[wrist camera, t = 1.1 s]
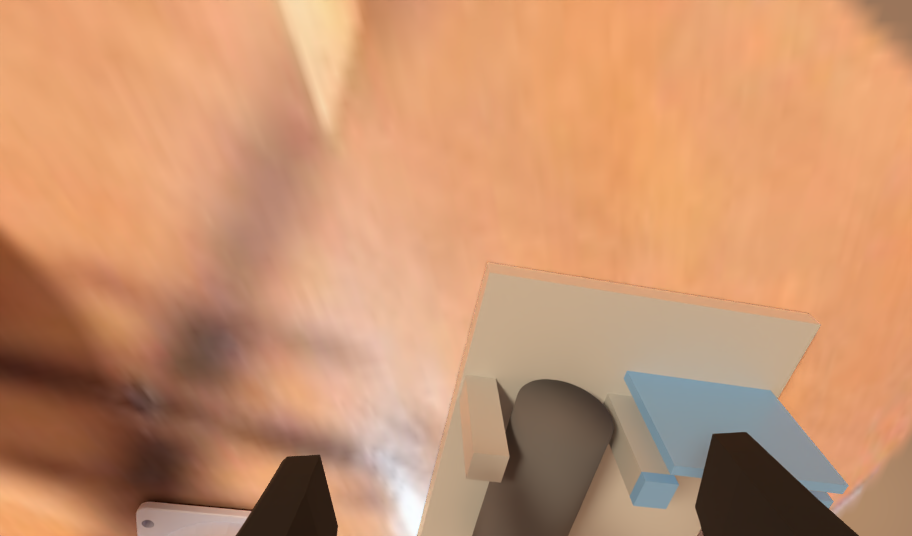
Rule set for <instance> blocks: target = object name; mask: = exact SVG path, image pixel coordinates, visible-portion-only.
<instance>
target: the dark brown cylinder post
mask: <svg viewBox="0 0 912 536" xmlns="http://www.w3.org/2000/svg"><path fill="white" fill-rule="evenodd" d="M613 430H614V425H613V420H612V417H611V415H610V413H609V412H608V410H607V409H606V407H605V406H604V405H603V404H602V403H601V402H600V401H599V400H598V399H597V398H596V397H594V396H593V395H592V394H590V393H589V392H587V391H585V390H584V389H582V388H580V387H578V386H576V385H573V384H570V383H567V382H564V381H559V380H551V379H540V380H535V381H531V382H529V383H527V384H525V385H524V386H523V387H522V388H521V389H520V390H519V392H518V394H517V397H516V401H515V404H514V407H513V410H512V413H511V416H510V419H509V422H508V425H507V429H506V432H505V434H506V440H507V445H508V451H509V460H508V463H507V466H506V469H505V472H504V475H503V478H502V481H501V483H499V482H490V481H489V484H488V488H487V491H486V494H485V497H484V500H483V503H482V506H481V509H480V512H479V516H478V519H477V522H476V525H475V528H474V531H473V534H472V536H568V535H569V533H570V530H571V528H572V526H573V524H574V521H575V519H576V517H577V514H578V512H579V510H580V508H581V505H582V503H583V501H584V498H585V496H586V494H587V491H588V489H589V487H590V485H591V482H592V480H593V478H594V475H595V473H596V471H597V469H598V466H599V464H600V462H601V459H602V457H603V455H604V452H605V450H606V448H607V446H608V443H609V441H610V439H611V436H612V434H613Z"/></svg>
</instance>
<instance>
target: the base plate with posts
mask: <svg viewBox="0 0 912 536" xmlns="http://www.w3.org/2000/svg"><path fill="white" fill-rule="evenodd" d="M820 326H821V324H820V323H819V322H818V321H817V320H815V319H814V318H813V317H812V316H811V315H810V314H809V313H803V312H797V311H790V310H784V309H778V308H772V307H765V306H759V305H753V304H746V303H740V302H734V301H728V300H721V299H715V298H709V297H703V296H696V295H690V294H684V293H678V292H671V291H665V290H659V289H653V288H646V287H640V286H634V285H628V284H621V283H615V282H609V281H603V280H596V279H590V278H584V277H578V276H571V275H565V274H559V273H552V272H546V271H540V270H534V269H527V268H521V267H515V266H509V265H502V264H496V263H490V262H487V265H486V269H485V272H484V276H483V280H482V284H481V288H480V292H479V296H478V300H477V304H476V308H475V311H474V315H473V319H472V323H471V327H470V331H469V335H468V339H467V343H466V347H465V350H464V354H463V358H462V362H461V366H460V370H459V374H458V378H457V382H456V386H455V389H454V393H453V397H452V401H451V405H450V409H449V413H448V417H447V421H446V425H445V428H444V432H443V436H442V440H441V444H440V448H439V452H438V456H437V460H436V464H435V467H434V471H433V475H432V479H431V483H430V487H429V491H428V495H427V499H426V503H425V506H424V510H423V514H422V518H421V522H420V526H419V530H418V534H417V536H472V534H473V531H474V528H475V525H476V522H477V519H478V516H479V512H480V509H481V506H482V503H483V500H484V497H485V494H486V491H487V488H488V484H489V481H490V482H499V483H501V481H502V478H503V475H504V472H505V469H506V466H507V463H508V460H509V451H508V445H507V440H506V434H505V432H506V429H507V425H508V422H509V419H510V416H511V413H512V410H513V407H514V404H515V401H516V397H517V394H518V392H519V390H520V389H521V388H522V387H523V386H524V385H525V384H527V383H529V382H531V381H535V380H540V379H551V380H559V381H564V382H567V383H570V384H573V385H576V386H578V387H580V388H582V389H584V390H585V391H587V392H589V393H590V394H592V395H593V396H594V397H596V398H597V399H598V400H599V401H600V402H601V403H602V404H603V405H604V406H605V407H606V409H607V410H608V412H609V413H610V415H611V417H612V420H613V425H614V430H613V434H612V436H611V439H610V441H609V443H608V446H607V448H606V450H605V452H604V455H603V457H602V459H601V462H600V464H599V466H598V469H597V471H596V473H595V475H594V478H593V480H592V482H591V485H590V487H589V489H588V491H587V494H586V496H585V498H584V501H583V503H582V505H581V508H580V510H579V512H578V514H577V517H576V519H575V521H574V524H573V526H572V528H571V530H570V533H569V535H568V536H697V535H698V533H699V531H700V530H701V525H700V522H699V519H698V515H697V512H696V509H695V504H696V500H697V496H698V492H699V488H700V483H701V479H702V475H703V471H704V467H705V463H706V459H707V455H708V451H709V446H710V442H711V438H712V434H716V433H734V432H747V433H748V434H749V435H750V436H751V437H752V438H753V439H754V440H755V441H757V442H758V443H759V444H760V445H761V446H762V447H763V448H764V449H765V450H766V451H767V452H768V453H769V454H770V455H771V456H773V457H774V458H775V459H776V460H777V461H778V462H779V463H780V464H781V465H782V466H783V467H784V468H785V469H786V470H787V471H788V472H790V473H791V474H792V475H793V476H794V477H795V478H796V479H797V480H798V481H799V482H800V483H801V484H802V485H803V486H805V487H806V488H807V489H808V490H809V491H810V492H811V493H812V494H813V495H814V496H815V497H816V498H817V499H818V500H820V501H821V502H822V503H823V504H824V505H825V506H826V507H827V508H828V509H829V507H830V506H831V505H832V503H833V500H832V499H831V498H830V496H829V495H828V494H827V492H830V493H838V494H843V493H844V491H845V490H846V488H847V487H848V486H849V485H848V484H847V483H846V482H845V481H844V479H843V478H842V477H841V476H840V474H839V473H838V472H837V471H836V470H835V468H834V467H833V466H832V465H831V464H830V462H829V461H828V460H827V459H826V457H825V456H824V455H823V454H822V453H821V451H820V450H819V449H818V448H817V446H816V445H815V444H814V443H813V442H812V440H811V439H810V438H809V437H808V435H807V434H806V433H805V432H804V431H803V429H802V428H801V427H800V426H799V424H798V423H797V422H796V421H795V420H794V418H793V417H792V416H791V415H790V413H789V412H788V411H787V410H786V409H785V407H784V406H783V405H782V404H781V402H780V401H779V400H778V397H779V396H780V394H781V392H782V390H783V389H784V387H785V385H786V384H787V382H788V380H789V379H790V377H791V375H792V374H793V372H794V370H795V368H796V367H797V365H798V363H799V362H800V360H801V358H802V357H803V355H804V353H805V351H806V350H807V348H808V346H809V345H810V343H811V341H812V340H813V338H814V336H815V334H816V333H817V331H818V329H819V328H820Z"/></svg>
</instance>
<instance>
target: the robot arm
mask: <svg viewBox="0 0 912 536" xmlns="http://www.w3.org/2000/svg"><path fill="white" fill-rule="evenodd" d="M695 509H696V512H697V515H698V519H699V522H700V525H701V528H702V531H703V535H704V536H859V535H857V534H856V533H855V532H854V531H853V530H852V529H850V527H848V526H847V525H846V524H845V523H844V522H843V521H842V520H841V519H839V518H838V517H837V516H836V515H835V514H834V513H833V512H832V511H831V510H829V509H828V508H827V507H826V506H825V505H824V504H823V503H822V502H821V501H820V500H818V499H817V498H816V497H815V496H814V495H813V494H812V493H811V492H810V491H809V490H808V489H807V488H806V487H805V486H803V485H802V484H801V483H800V482H799V481H798V480H797V479H796V478H795V477H794V476H793V475H792V474H791V473H790V472H788V471H787V470H786V469H785V468H784V467H783V466H782V465H781V464H780V463H779V462H778V461H777V460H776V459H775V458H774V457H773V456H771V455H770V454H769V453H768V452H767V451H766V450H765V449H764V448H763V447H762V446H761V445H760V444H759V443H758V442H757V441H755V440H754V439H753V438H752V437H751V436H750V435H749V434H748V433H747V432H734V433H716V434H712V438H711V442H710V446H709V451H708V455H707V459H706V463H705V467H704V471H703V475H702V479H701V483H700V488H699V492H698V496H697V500H696V504H695ZM136 524H137V536H337V528H338V525H337V521H336V517H335V513H334V509H333V505H332V501H331V497H330V493H329V489H328V485H327V481H326V477H325V473H324V469H323V465H322V461H321V457H320V455H310V456H291V457H286V458H285V459H284V460H283V461H282V463H281V464H280V466H279V468H278V469H277V471H276V473H275V474H274V476H273V478H272V479H271V481H270V483H269V484H268V486H267V488H266V489H265V491H264V492H263V494H262V496H261V497H260V499H259V500H258V502H257V504H256V505H255V507H254V508H253V510H252V511H246V510H235V509H225V508H214V507H203V506H192V505H181V504H171V503H160V502H144V503H142V504H141V505H140V506H139V508H138V509H137V511H136Z"/></svg>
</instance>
